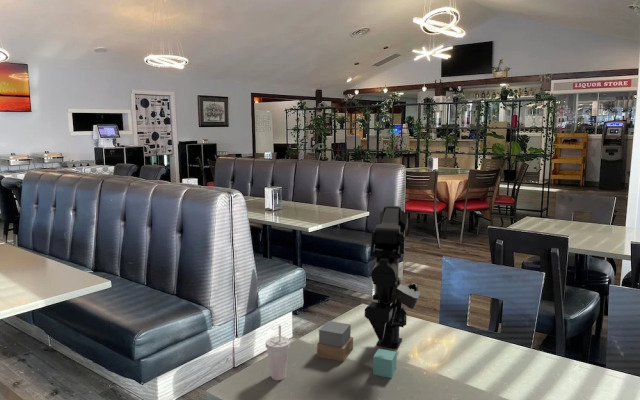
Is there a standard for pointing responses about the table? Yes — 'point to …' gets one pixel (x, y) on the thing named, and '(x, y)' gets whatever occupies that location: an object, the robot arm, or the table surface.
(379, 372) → the teal cube
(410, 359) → the table surface
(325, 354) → the tower base
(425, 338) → the table surface
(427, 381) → the table surface
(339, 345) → the tower top
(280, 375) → the smoothie
